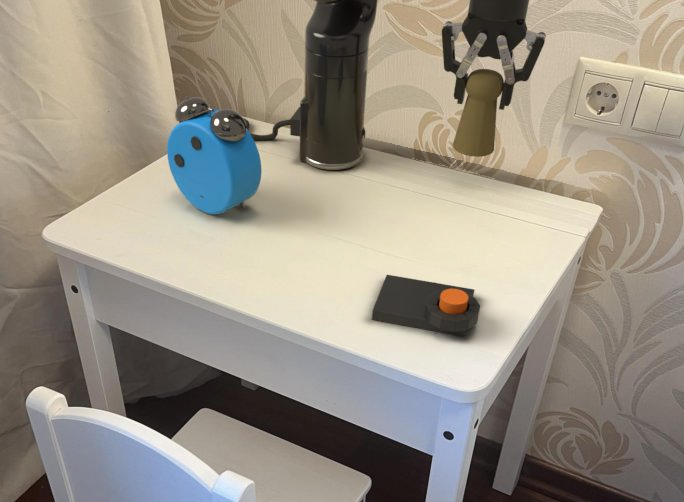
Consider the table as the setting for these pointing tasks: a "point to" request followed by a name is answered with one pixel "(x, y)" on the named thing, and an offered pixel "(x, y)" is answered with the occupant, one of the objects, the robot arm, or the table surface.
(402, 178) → the table surface
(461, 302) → the tare button
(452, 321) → the scale
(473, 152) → the olive brown pawn
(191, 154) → the alarm clock
